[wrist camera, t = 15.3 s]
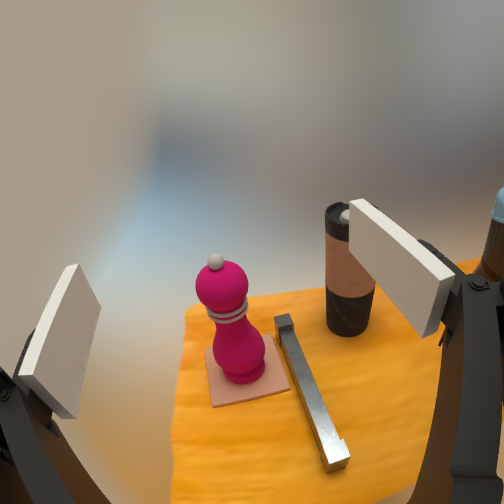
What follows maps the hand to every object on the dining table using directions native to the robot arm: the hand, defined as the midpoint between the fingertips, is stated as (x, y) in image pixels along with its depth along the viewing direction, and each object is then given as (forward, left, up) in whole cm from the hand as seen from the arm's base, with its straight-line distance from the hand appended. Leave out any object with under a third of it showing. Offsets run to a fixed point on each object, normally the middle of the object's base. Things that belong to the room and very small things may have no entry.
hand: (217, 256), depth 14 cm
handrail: (+1, -11, -30) cm, 32 cm away
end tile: (+11, -12, -30) cm, 34 cm away
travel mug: (0, -27, -30) cm, 40 cm away
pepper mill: (+11, -12, -30) cm, 34 cm away
